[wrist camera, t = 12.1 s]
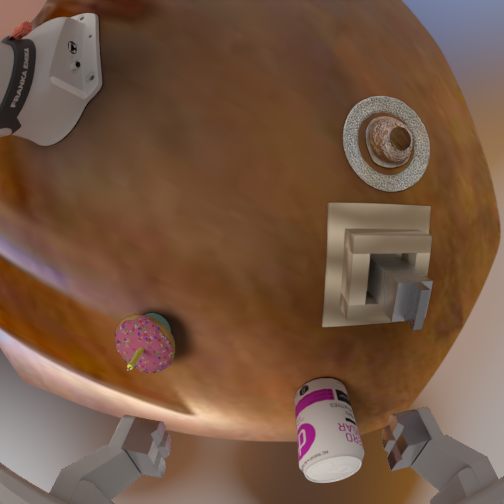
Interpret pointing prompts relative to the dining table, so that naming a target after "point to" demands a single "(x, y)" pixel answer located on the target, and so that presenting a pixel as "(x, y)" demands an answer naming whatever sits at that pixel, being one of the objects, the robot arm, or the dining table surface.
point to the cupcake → (145, 342)
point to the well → (368, 255)
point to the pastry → (387, 143)
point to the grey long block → (399, 289)
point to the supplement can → (326, 432)
